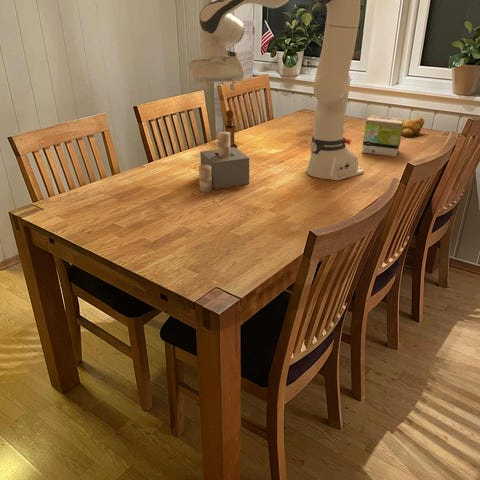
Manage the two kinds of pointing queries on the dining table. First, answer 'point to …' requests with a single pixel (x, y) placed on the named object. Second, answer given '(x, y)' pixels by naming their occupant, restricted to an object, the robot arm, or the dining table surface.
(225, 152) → the tall pin
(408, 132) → the golden brown lumpy piece
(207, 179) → the short pin
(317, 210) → the dining table surface
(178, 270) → the dining table surface
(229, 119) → the brown pedestal statuette
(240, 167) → the hole block
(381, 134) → the tea box
